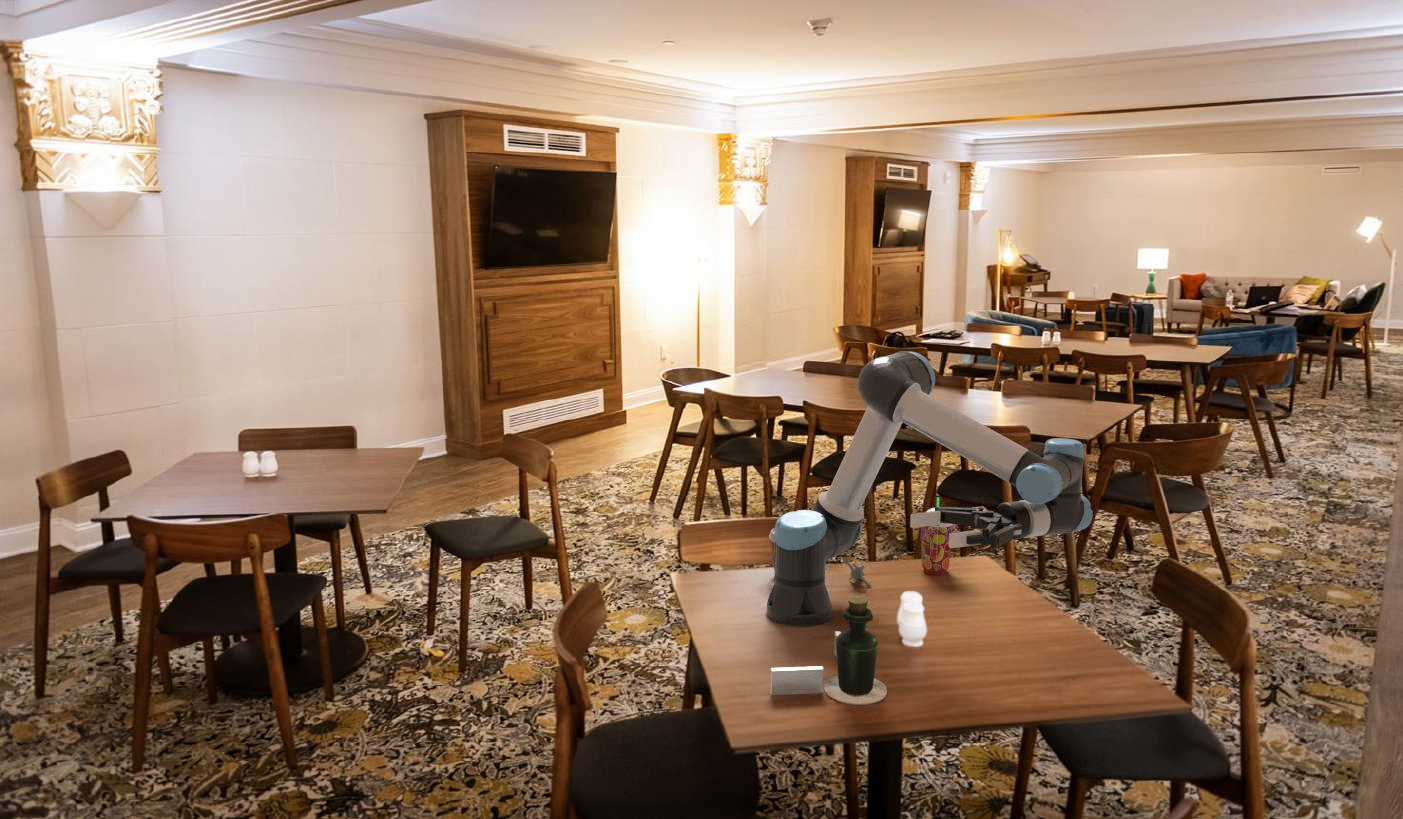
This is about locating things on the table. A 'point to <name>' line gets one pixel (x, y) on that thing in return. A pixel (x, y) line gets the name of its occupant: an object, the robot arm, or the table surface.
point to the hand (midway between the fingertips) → (929, 530)
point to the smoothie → (935, 547)
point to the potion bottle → (856, 649)
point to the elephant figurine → (856, 571)
